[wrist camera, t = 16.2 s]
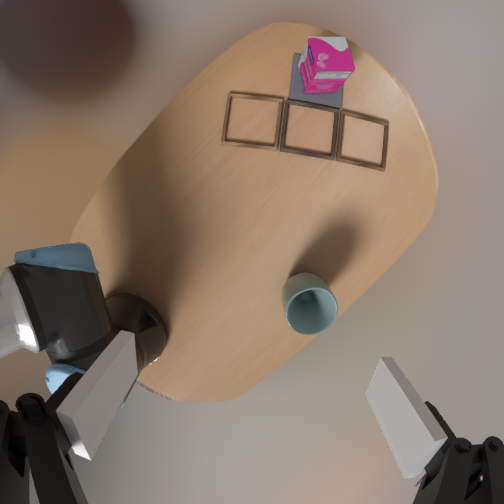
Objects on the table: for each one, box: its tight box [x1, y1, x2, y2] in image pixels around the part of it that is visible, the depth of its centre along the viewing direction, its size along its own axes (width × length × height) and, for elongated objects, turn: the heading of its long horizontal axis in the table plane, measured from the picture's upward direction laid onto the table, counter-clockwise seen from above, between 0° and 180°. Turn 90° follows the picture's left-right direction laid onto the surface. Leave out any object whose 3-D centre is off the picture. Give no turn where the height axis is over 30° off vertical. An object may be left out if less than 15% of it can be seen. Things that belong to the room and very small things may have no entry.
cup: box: [282, 272, 338, 335], centre depth 44 cm, size 8×8×10 cm
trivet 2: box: [336, 110, 388, 171], centre depth 43 cm, size 9×9×1 cm
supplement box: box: [298, 37, 355, 94], centre depth 35 cm, size 6×6×12 cm
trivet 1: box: [221, 93, 283, 151], centre depth 43 cm, size 9×9×1 cm
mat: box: [289, 54, 343, 109], centre depth 41 cm, size 9×9×1 cm
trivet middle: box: [280, 100, 339, 160], centre depth 43 cm, size 9×9×1 cm
